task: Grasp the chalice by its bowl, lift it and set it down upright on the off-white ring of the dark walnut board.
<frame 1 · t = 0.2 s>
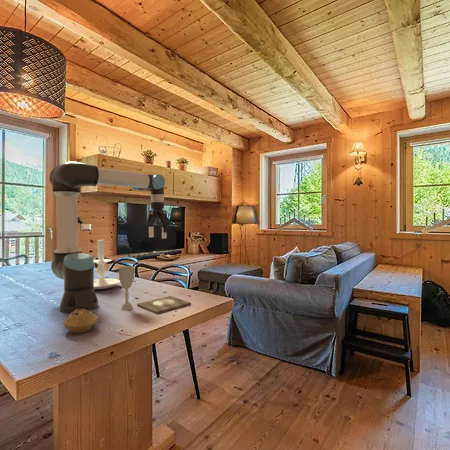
hand: (157, 237, 171), 28 cm above the table, tool pointing down, fingers open, 13 cm apart
chalice: (126, 308, 126), on the table
target board: (164, 305, 131), on the table
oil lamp: (80, 329, 103), on the table
candlestick: (97, 289, 162), on the table
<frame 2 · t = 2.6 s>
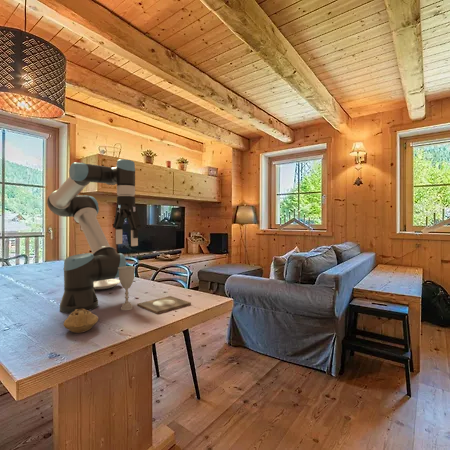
hand: (126, 244, 126), 28 cm above the table, tool pointing down, fingers open, 13 cm apart
nothing on the table moved.
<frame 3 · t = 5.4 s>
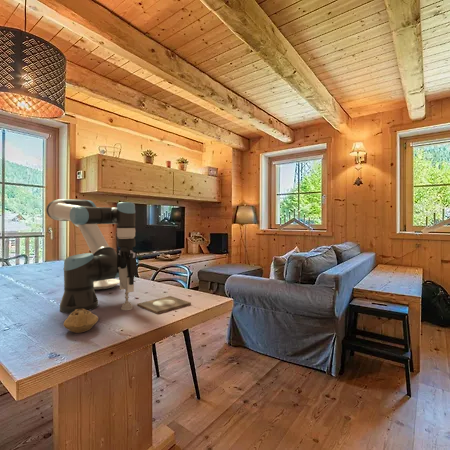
hand: (126, 290, 126), 8 cm above the table, tool pointing down, fingers closed on chalice, 6 cm apart
chalice: (126, 308, 126), on the table, touching gripper
everything else where it was.
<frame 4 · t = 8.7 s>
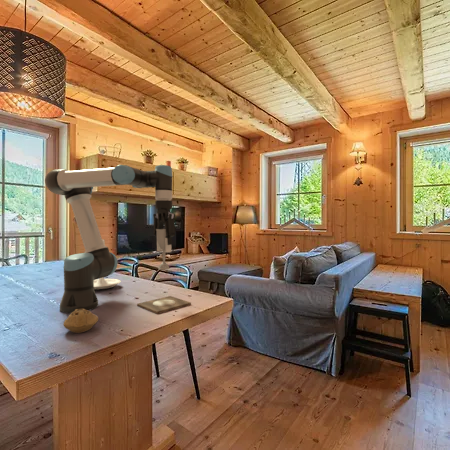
hand: (164, 251, 130), 25 cm above the table, tool pointing down, fingers closed on chalice, 6 cm apart
chalice: (164, 269, 131), point 16 cm above the table, touching gripper
everything else where it was.
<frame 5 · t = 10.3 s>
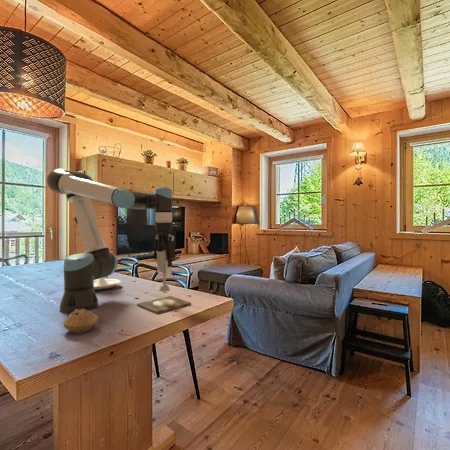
hand: (164, 273, 131), 15 cm above the table, tool pointing down, fingers closed on chalice, 6 cm apart
chalice: (164, 290, 131), point 7 cm above the table, touching gripper
everything else where it was.
when the fingers open (10 cm above the table, at t = 11.9 s): chalice drops 1 cm, resting on target board.
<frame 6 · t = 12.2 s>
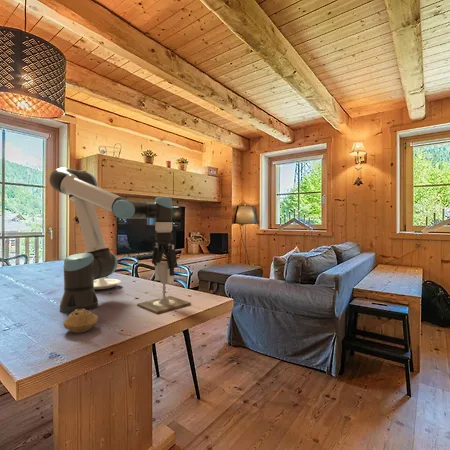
hand: (164, 281, 131), 11 cm above the table, tool pointing down, fingers open, 9 cm apart
chalice: (164, 303, 131), point 1 cm above the table, touching target board
everything else where it was.
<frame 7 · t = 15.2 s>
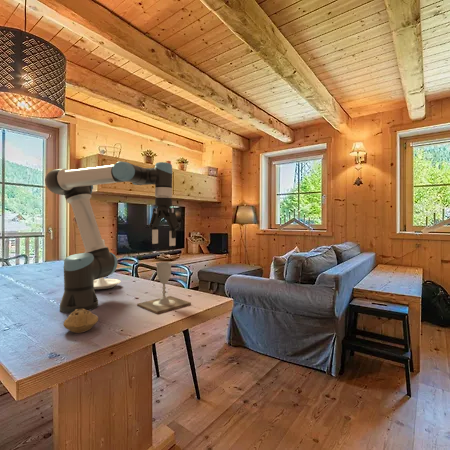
hand: (163, 244, 130), 28 cm above the table, tool pointing down, fingers open, 13 cm apart
nothing on the table moved.
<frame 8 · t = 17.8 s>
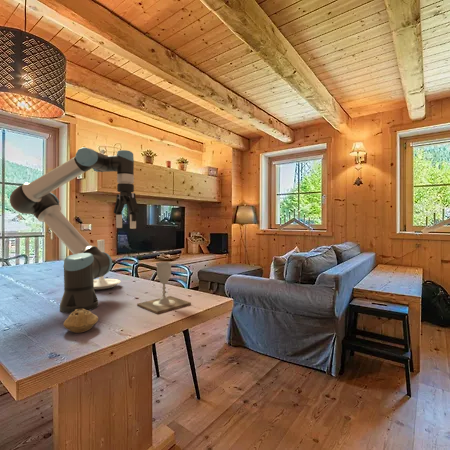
hand: (125, 228, 138), 35 cm above the table, tool pointing down, fingers open, 13 cm apart
nothing on the table moved.
at the end: chalice inside the target area on the target board (0.1 cm from its centre), point 1.0 cm above the target board's base; chalice tilted 1°; the gripper is holding nothing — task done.
